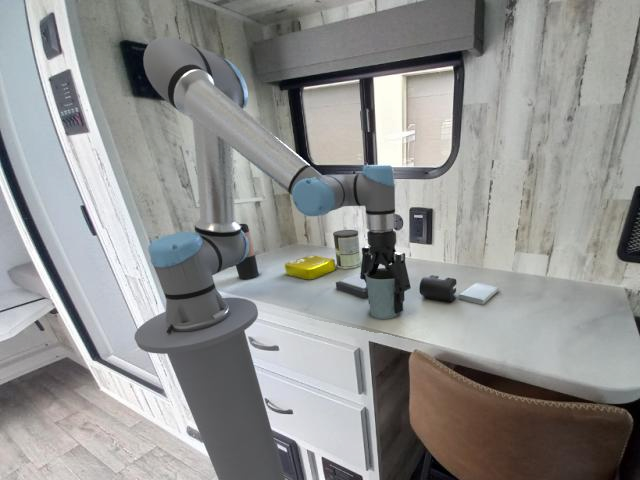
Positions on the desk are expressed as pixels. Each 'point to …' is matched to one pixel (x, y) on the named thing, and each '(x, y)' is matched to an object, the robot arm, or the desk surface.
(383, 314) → the grey-blue cup
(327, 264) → the element tile
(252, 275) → the travel mug
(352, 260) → the coffee can
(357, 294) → the scale
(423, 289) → the end cap
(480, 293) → the hard drive
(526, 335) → the desk surface
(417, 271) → the desk surface
